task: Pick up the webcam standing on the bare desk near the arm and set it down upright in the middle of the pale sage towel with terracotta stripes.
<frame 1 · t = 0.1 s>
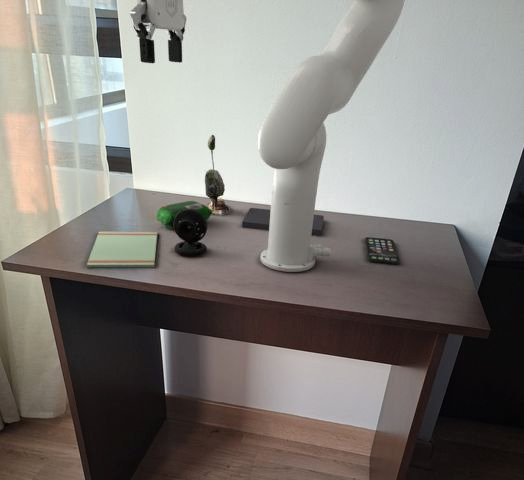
hand: (162, 62, 102), 37 cm above the table, tool pointing down, fingers open, 9 cm apart
plant with pod: (216, 212, 139), on the table
towel: (125, 249, 112), on the table
snack package: (185, 224, 129), on the table
webcam: (190, 252, 113), on the table
smartphone: (381, 252, 120), on the table
notebook: (283, 224, 134), on the table
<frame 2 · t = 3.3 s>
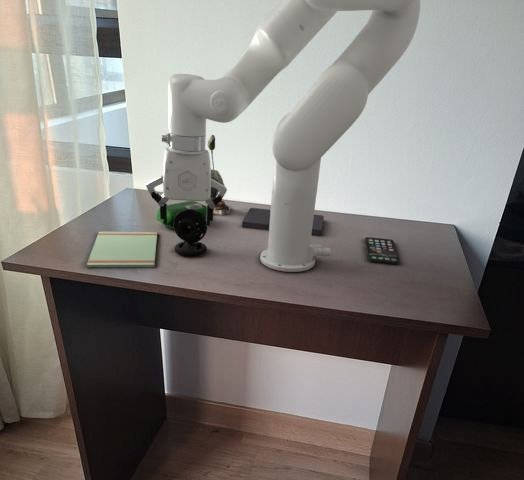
hand: (186, 223, 109), 7 cm above the table, tool pointing down, fingers open, 9 cm apart
webcam: (190, 252, 113), on the table, touching gripper
everything else where it was.
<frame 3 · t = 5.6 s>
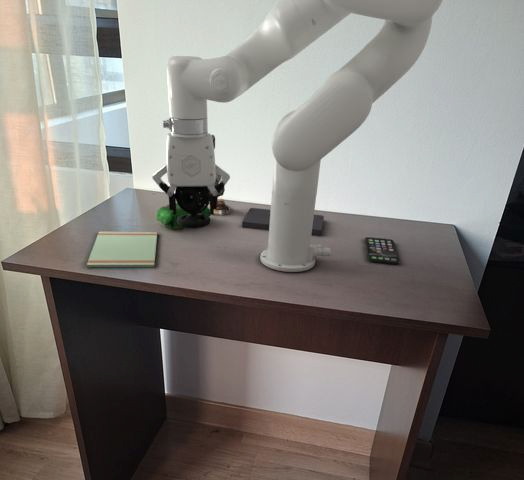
hand: (193, 212, 108), 9 cm above the table, tool pointing down, fingers closed on webcam, 7 cm apart
webcam: (193, 224, 109), point 7 cm above the table, touching gripper
everything else where it was.
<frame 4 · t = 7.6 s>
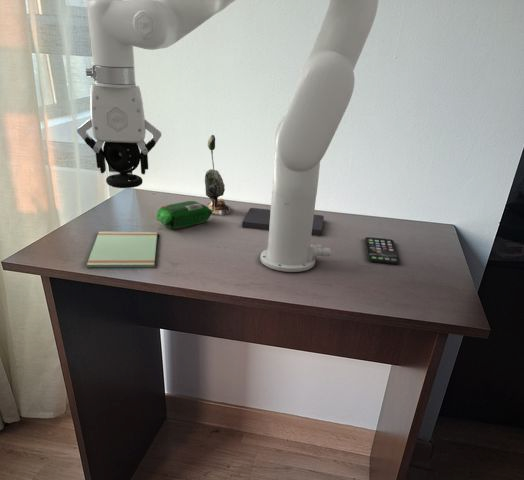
hand: (123, 171, 102), 17 cm above the table, tool pointing down, fingers closed on webcam, 7 cm apart
webcam: (124, 184, 104), point 15 cm above the table, touching gripper
everything else where it was.
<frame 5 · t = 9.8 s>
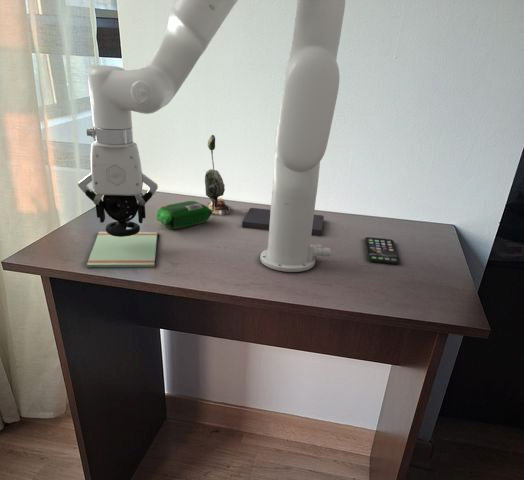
hand: (122, 220, 108), 7 cm above the table, tool pointing down, fingers closed on webcam, 7 cm apart
webcam: (123, 232, 109), point 4 cm above the table, touching gripper
everything else where it was.
when the fingers open (3 cm above the table, at t = 11.4 s): webcam stays where it is, resting on towel.
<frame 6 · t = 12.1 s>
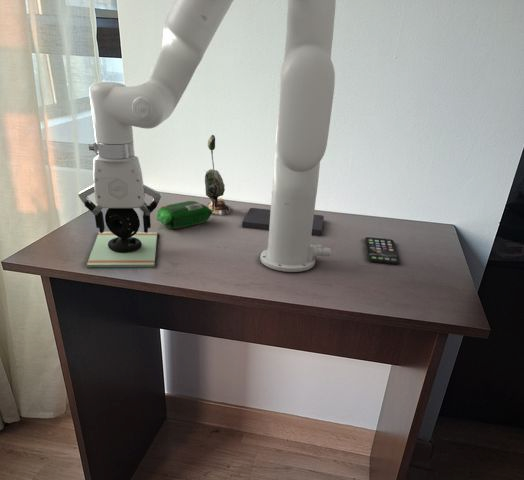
hand: (124, 230, 109), 4 cm above the table, tool pointing down, fingers open, 9 cm apart
webcam: (125, 247, 111), resting on towel
everything else where it was.
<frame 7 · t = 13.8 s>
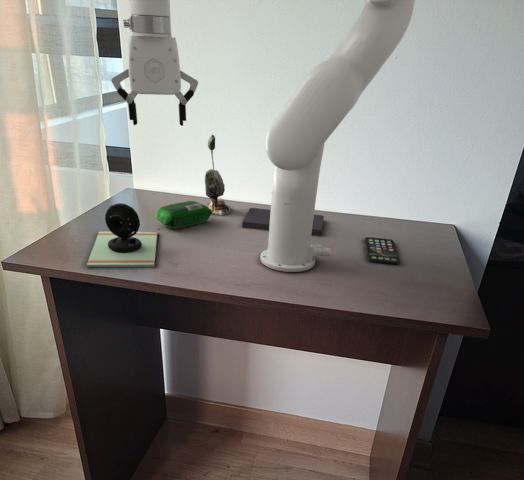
hand: (158, 124, 103), 26 cm above the table, tool pointing down, fingers open, 9 cm apart
nothing on the table moved.
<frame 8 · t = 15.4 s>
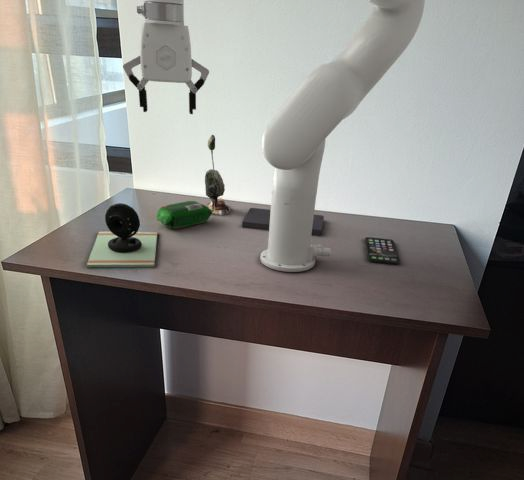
hand: (168, 112, 104), 28 cm above the table, tool pointing down, fingers open, 9 cm apart
nothing on the table moved.
at the end: webcam inside the target area on the towel (0.1 cm from its centre), point 0.4 cm above the towel's base; webcam tilted 0°; the gripper is holding nothing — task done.
